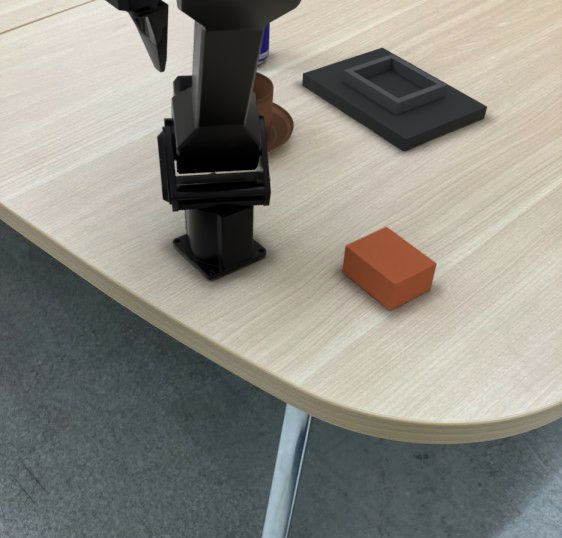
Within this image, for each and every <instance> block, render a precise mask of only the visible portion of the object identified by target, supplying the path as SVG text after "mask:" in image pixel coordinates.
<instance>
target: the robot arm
mask: <svg viewBox="0 0 562 538" xmlns="http://www.w3.org/2000/svg"><path fill="white" fill-rule="evenodd" d="M104 1H105V2H107V3H108V5H111V6H112V7H113V8H115V9H116V10H117V11H119V12H120V11H121V12H126V13H127V14H128V15H129V17H130V19H131V20H132V22H133V24H134V26H135V28H136V30H137V32H138V35H139V37H140V38H141V41H142V43H143V45H144V47H145V50H146V52H147V54H148V56H149V58H150V61H151V63H152V66H153V68H154V69H155V70H156V71H158V73H160V74H161V73H164V72H166V66H167V60H168V40H169V38H168V37H169V36H168V35H169V9H170V7H169V4H168V3H167V2H165V1H164V0H104ZM301 2H302V0H176V7H177V9H178V10H179V11H180V12H182V13H183V14H184V15H186V16H187V17H189V18H190V19H192V20H193V21H194V23H193V25H194V26H193V43H192V44H193V46H192V47H193V49H192V69H191V74H189V75H188V74H187V75H177V76H176V77H175V79H174V80H173V81H172V96H171V103H170V104H171V105H170V117H163V125H162V126H161V132H160V133H158V135H157V137H156V141H157V142H156V143H157V152H158V162H159V163H158V164H159V172H160V174H159V175H160V186H161V198H162V201H164V202H167V203H168V205H169V206H170V205H171V212H172V213H178V212H179V211H184V225H185V231H186V233H185V234H183V235H180V236H178V237H175V238H173V240H172V246H173V248H174V249H176V250H177V252H179V253H180V254H181V256H183V257H184V258H185V259H186V260H187V261H188V262H189V263H190V264H191V265H192V266H193V267H194V268H195V269H196V270H197V271H198V272H200V273H201V274H202V275H203V276H204V277H205V278H206V279H207V280H210V281H212V280H217V279H218V278H221V277H223V276H225V275H227V274H229V273H232V272H234V271H236V270H238V269H241V268H244V267H245V266H247V265H250V264H252V263H254V262H256V261H259V260H261V259H263V258H265V257H266V256H267V249H266V248H265V247H264V246H263V245H261V244H260V243H259V242H258V241H257V240H256V239H254V224H255V223H254V220H255V219H254V218H255V217H254V215H255V206H263V207H269V206H270V204H271V203H270V202H271V196H272V186H271V173H270V164H269V153H268V151H267V140H266V129H265V121H264V116H263V114H258V109H257V100H256V94H255V93H254V92H253V86H254V81H255V76H256V72H258V67H259V65H258V62H259V57H260V52H261V47H262V42H263V38H264V33H265V28H266V25H267V24H269V23H270V24H271V23H272V22H274V21H276V20H277V19H279V18H282V17H283V16H285V15H286V14H288V13H290V12H291V11H294V10H295V9H297V8H298V6H299V5H300V4H301ZM176 173H177V174H179V175H176Z"/></svg>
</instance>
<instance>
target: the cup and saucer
mask: <svg viewBox="0 0 562 538" xmlns="http://www.w3.org/2000/svg"><path fill="white" fill-rule="evenodd" d="M274 90H275V87H274V83H273V81H272V80H271V79H270V78H269V77H268V76H267V75H265V74H263V73H261V72H258V71H256V76H255V81H254V86H253V92H254V93H255V94H256V100H257V109H258V114H263V116H264V121H265V129H266V140H267V151H268V154H270V153H272V152H274V151H275V150H278V149H279V148H281V147H282V146H283V145H285V143H287V142H288V141H289V139H291V136H292V134H293V131H294V127H295V123H294V120H293V117H292V116H291V114H290V113H289V112H288V110H286V109H285V108H284V107H283V106H281V105H279V104H277V103H276V102H274Z"/></svg>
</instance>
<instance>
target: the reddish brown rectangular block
mask: <svg viewBox="0 0 562 538" xmlns="http://www.w3.org/2000/svg"><path fill="white" fill-rule="evenodd" d="M437 265H438V264H437V262H436V261H434V260H433V259H432V258H430V257H429V256H427V255H426V254H425V253H423V252H422V251H420V250H419V249H418V248H416V247H415V246H414V245H413V244H411V243H410V242H408V241H407V240H406V239H405V238H403V237H402V236H400V235H399V234H398V233H396V232H394V230H392V229H391V228H389V227H388V226H384V227H382V228H380V229H378V230H375V231H374V232H372V233H371V232H370V233H369V234H367V235H365V236H362V237H361V238H358V239H356V240H354V241H351V242H349V243H347V244H346V245H344V254H343V261H342V270H341V271H342V273H344V274H345V275H346V276H347V277H348V278H349V279H351V280H352V281H353V282H355V283H356V284H357V285H358V286H359V287H361V289H363V290H364V291H366V292H367V293H368V294H369V295H371V296H372V297H373V298H374V299H375V300H377V301H378V302H379V303H380V304H381V305H382V306H384V307H385V308H386V309H387V310H389V311H393V310H394V309H396V308H398V307H400V306H402V305H404V304H405V303H408V302H409V301H411V300H413V299H415V298H418V297H419V296H421V295H423V294H426V293H427V292H429V291H431V289H432V285H433V281H434V277H435V273H436V268H437Z"/></svg>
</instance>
